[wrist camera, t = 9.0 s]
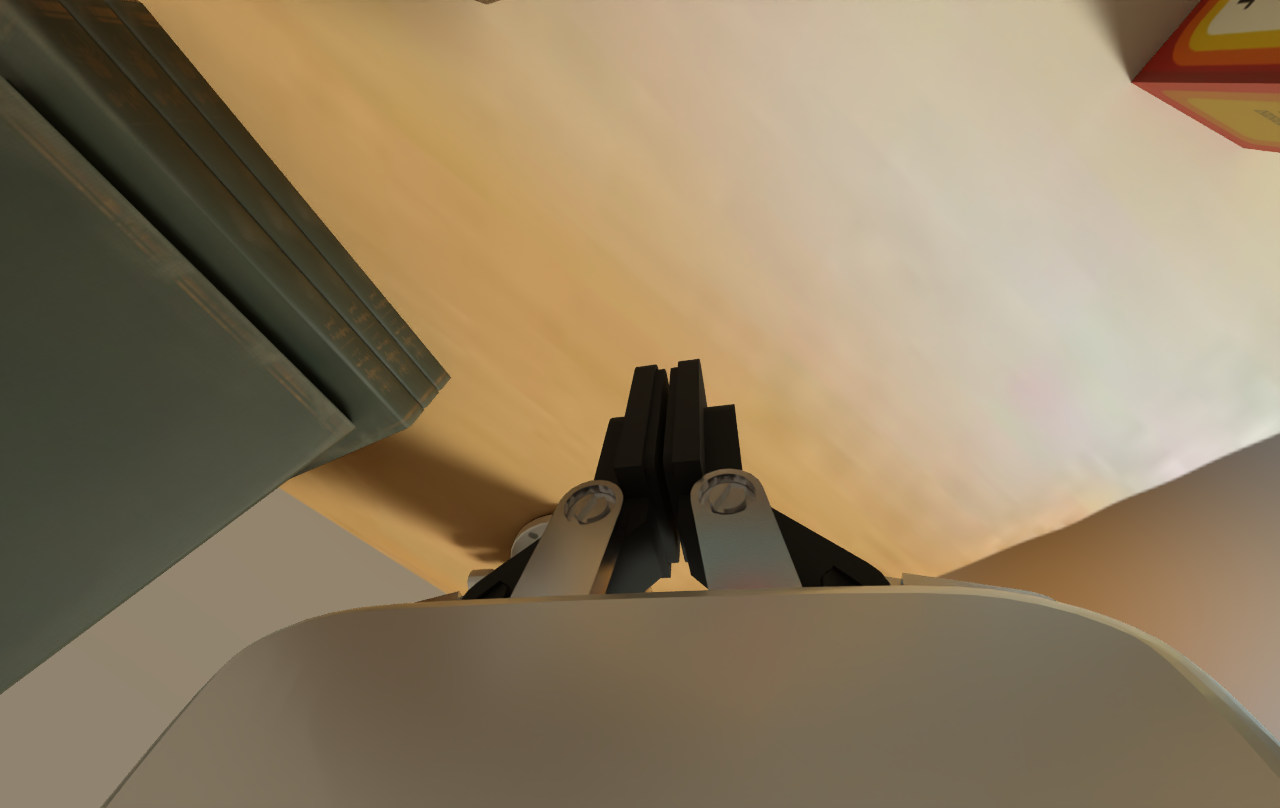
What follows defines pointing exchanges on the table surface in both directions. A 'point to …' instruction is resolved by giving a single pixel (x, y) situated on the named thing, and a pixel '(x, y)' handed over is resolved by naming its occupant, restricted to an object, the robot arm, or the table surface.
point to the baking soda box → (1224, 70)
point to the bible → (158, 322)
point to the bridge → (487, 1)
